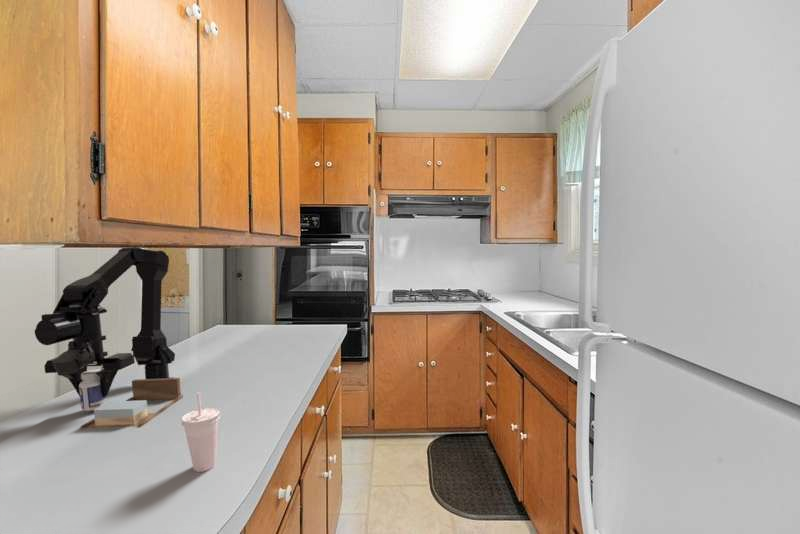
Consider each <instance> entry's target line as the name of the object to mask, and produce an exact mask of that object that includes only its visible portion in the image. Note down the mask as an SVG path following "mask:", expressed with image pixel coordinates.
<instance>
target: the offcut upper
mask: <svg viewBox="0 0 800 534" xmlns="http://www.w3.org/2000/svg"><path fill="white" fill-rule="evenodd" d="M147 400H148V399H147ZM147 400H132V401H126V400H119V401H118V400H117V401H116V400H114V401H113V400H111V401H107V403H106V404H104V405H102V406H100V407H99V408H97V409H95V410H93V416H94V418H107V417H134V416H135V415H137V414H138V413H140V412H142V411H143V410H145V409H146V408H148V401H147Z"/></svg>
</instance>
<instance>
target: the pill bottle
mask: <svg viewBox="0 0 800 534" xmlns="http://www.w3.org/2000/svg"><path fill="white" fill-rule="evenodd" d="M100 370H101V369H98V368H96V369H90V370H87V371H85V372H83V373H81V379H82V380H83V381H82V382H81V383H80V384H79V391H80V396H79V400H80V407H81V408H80V409H81V410H82V411H86V412H90V411H94V410H95V409H97V408H99V407H100V406H102V405H104V404H106V403H108V395H107V396H105V397H103V396H102V392H101V384H100V377H99V376H98V375H97V374H96V372H98V371H100Z"/></svg>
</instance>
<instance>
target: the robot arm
mask: <svg viewBox="0 0 800 534" xmlns="http://www.w3.org/2000/svg"><path fill="white" fill-rule="evenodd" d="M169 265H170V258H169V255H167V254H166V252H165V251H163V250H151V249H143V248H141V247H138V246H130V247H127V246H126V247H122V248H120V249H119V250H118V251H117V253H115V255H113V256H112V257H111V258H110V259H109V260H107V261H106V262H104V264H102V265H101V266H100V267H99V268H97V269H96V270H95V271H93V273H92V274H90V275H88V276H85V277H83V278H82V277H81V278H79V279H77V280H75V281H73V282H71V283H69V284H68V285H66V286H65V287H64V289H63V290H62V295H61V296H60V299H59V300H58V302H57V305H56V306H55V308H54V310H53V311H52V313H44V314H41V315H40V317H41V320H40V321H39V322H38V323H37V324H36V325H35V326H36V327H35V329H34V335H35V338H36V340H37V341H38V342H39V343H40V344H41V345H43V346H51V345H54V344H58V343H62V342H65V341H68V340H71V341H68V344H67V347H68V348H67V350H66V351H63V352H62V353H61V354H60V355H58V356H57V357H55V358H52V359H47V361H46V362H45V363H44V367H43V368H44V373H45V374H51V373H52V374H53V373H57V375H58V376H60V377H61V376H62V377H64V378H67V379H68V381H69V382H70V383H71V384H72V387H73V388H74V389H75V391H76V393H77V394H78V396H79V397H80V391H79V384H80V383H81V382H82V381H83V380H82V379H81V373H83V372H85V371H88V367H101V369H99V370H100V371H98V372H96V374H97V375H98V376H99V377H100V384H101V392H102V396H103V397H105V396H107V397H108V394H109V391H110V389H111V387H112V384H113V382H114V379H115V377H116V375H117V373H118V371H120V370H123V369H125V368H127V367H129V366H131V365H134V364H135V361H136V363H137V365H138V366H144V377H145V378H144V379H163V378H170V372H169V371H170V370H169V364H172V363H173V362H174V361H175V358H176V357H175V356H176V353H175V352H174V351H173V350H172V349H171V348H169V347H168V343H167V338H166V335H165V334H164V333H163V331H162V329H161V328H162V327H161V324H162V323H161V321H162V320H161V318H162V281H163V279H164V278H165V276H166V275H167V274H168V271H169ZM132 266H135V269H136V270H135V271H136V274H137V275H138V276H139V278H140V281H141V310H140V312H141V313H140V315H141V316H140V317H141V318H140V331H139V332H138V334H137V335H136V336H132V339H131V343H132V347H131V349H130V351H131V352H132V353H131V352H122V353H121V352H120V353H115V354H112V355H110V356H108V354H109V353H108V351H104V345H103V341H105V340H107V336H106V335H104V334H102V333H103V332H102V325H101V315H100V314H105V313H107V312H108V310H107V308H104V307H102V306H101V305H100V304H101V303H102V302H103V301H104V300H105V298H106V296H107V295H108V293H109V288H110V287H111V285H112V284H114V283H115V282H116V281H117V280H118V279H119V278H120V277H122V275H123V274H125V272H127V271H128V270H129V269H130V268H131V267H132Z"/></svg>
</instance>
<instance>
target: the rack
mask: <svg viewBox="0 0 800 534" xmlns="http://www.w3.org/2000/svg"><path fill="white" fill-rule="evenodd" d="M180 380H181V379H180V377H169V378H163V379H145V378H143V379H142V378H141V379H139V378H138V379H133V380H132V381H131V385H132V386H131V387H132V397H129V398H128V399H126V400H125V401H139V400H167V399H168V400H169V399H171V400H172V399H173V400H172V401H170V402H169V403H167V404H166V405H165V406H163V407H162V408H160V409H159V410H157V411H156V412H152V413H151V412H150V413H149V412H148V416H146V417H145V418H143V419H142V420H140V421H139V422H137V423H136V424H131V425H101V426H95V417H94V418H92V419H90V421H87V422H86V423H83V424H82V425H81V426H80V429H81V430H82V429H95V428H97V429H99V428H101V429H103V428H128V427H132V428H133V427H140V428H141V427H143V426H144V425H146V424H147V423H149V422H150V421H152V420H153V419H154V418H156V417H157V416H159V415H160V414H162V413H163V412H164V411H166V410H167V409H169V408H170V407H171V406H174V404H176V403H177V402H179V401H180V400H181V399H183V398H184V395H182V393H181V381H180Z"/></svg>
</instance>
